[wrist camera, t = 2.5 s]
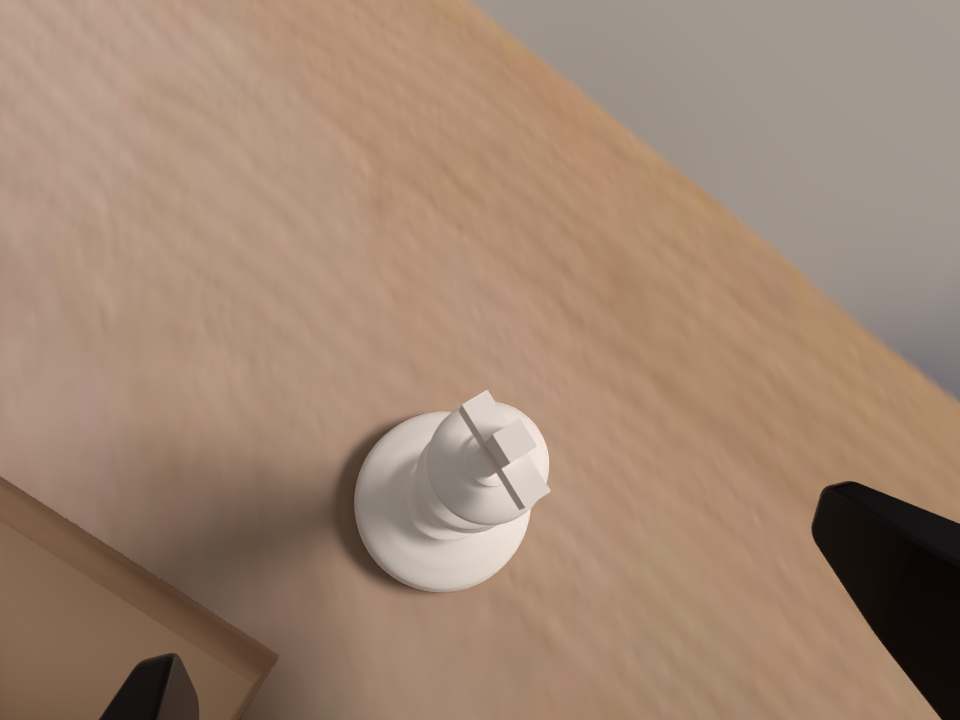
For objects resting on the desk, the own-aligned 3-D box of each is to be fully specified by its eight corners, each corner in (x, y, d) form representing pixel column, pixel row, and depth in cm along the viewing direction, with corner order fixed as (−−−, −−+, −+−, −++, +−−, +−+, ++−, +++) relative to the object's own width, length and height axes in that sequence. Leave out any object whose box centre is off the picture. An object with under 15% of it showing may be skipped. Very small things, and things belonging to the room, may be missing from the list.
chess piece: (411, 629, 17) (452, 733, 7) (321, 469, 17) (252, 372, 8) (561, 528, 18) (761, 503, 9) (470, 384, 19) (562, 215, 9)
